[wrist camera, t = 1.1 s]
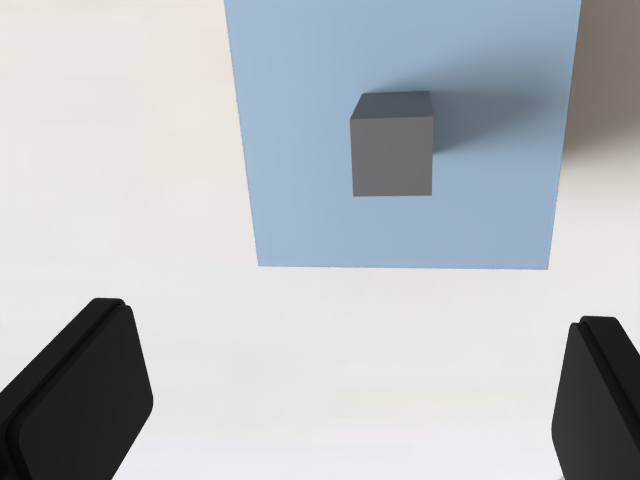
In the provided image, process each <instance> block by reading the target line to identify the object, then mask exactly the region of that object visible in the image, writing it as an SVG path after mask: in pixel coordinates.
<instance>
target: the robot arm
mask: <svg viewBox="0 0 640 480" xmlns="http://www.w3.org/2000/svg"><path fill="white" fill-rule="evenodd" d="M152 408H153V394H152V390H151V386H150V382H149V378H148V373H147V369H146V365H145V361H144V357H143V353H142V349H141V344H140V340H139V336H138V332H137V328H136V324H135V319H134V315H133V311H132V309H131V307H130V306H128V305H125V302H124V301H123V300H122V299H117V298H94V299H93V300H92V301H91V302H90V303H89V304H88V305H87V306H86V307H85V308H84V309H83V310H82V311H81V312H80V313H79V314H78V315H77V316H76V317H75V318H74V319H73V320H72V321H71V322H70V323H69V324H68V325H67V326H66V327H65V328H64V329H63V330H62V331H61V332H60V333H59V334H58V335H57V336H56V337H55V338H54V339H53V340H52V341H51V342H50V343H49V344H48V345H47V346H46V347H45V348H44V349H43V350H42V351H41V352H40V353H39V354H38V355H37V356H36V357H35V358H34V359H33V360H32V361H31V362H30V363H29V364H28V365H27V366H26V367H25V368H24V369H23V370H22V371H21V372H20V373H19V374H18V375H17V376H16V377H15V378H14V379H13V380H12V381H11V382H10V383H9V384H8V385H7V386H6V387H5V388H4V389H3V391H2V392H1V393H0V480H112V478H113V476H114V475H115V473H116V471H117V470H118V468H119V466H120V465H121V463H122V461H123V459H124V458H125V456H126V454H127V453H128V451H129V449H130V448H131V446H132V444H133V443H134V441H135V439H136V437H137V436H138V434H139V432H140V431H141V429H142V427H143V426H144V424H145V422H146V421H147V419H148V417H149V416H150V414H151V411H152ZM551 431H552V440H553V444H554V447H555V450H556V453H557V456H558V460H559V463H560V466H561V469H562V472H563V475H564V477H563V478H562V479H560V480H640V355H639V353H638V351H637V350H636V348H635V347H634V345H633V344H632V342H631V340H630V339H629V337H628V336H627V334H626V332H625V331H624V329H623V328H622V326H621V324H620V323H619V321H618V320H617V319H616V318H615V317H602V316H583V317H582V318H581V319H580V322H579V323H572V324H571V325H570V328H569V333H568V339H567V344H566V349H565V355H564V360H563V366H562V371H561V376H560V382H559V387H558V393H557V398H556V404H555V409H554V414H553V420H552V430H551Z"/></svg>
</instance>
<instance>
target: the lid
mask: <svg viewBox="0 0 640 480" xmlns="http://www.w3.org/2000/svg"><path fill="white" fill-rule="evenodd" d="M581 1H582V0H224V5H225V13H226V21H227V28H228V36H229V44H230V52H231V59H232V67H233V75H234V82H235V90H236V98H237V105H238V113H239V121H240V128H241V136H242V144H243V151H244V159H245V167H246V174H247V182H248V190H249V198H250V205H251V213H252V221H253V228H254V236H255V244H256V251H257V259H258V266H280V267H365V268H449V269H534V270H548V265H549V257H550V249H551V241H552V233H553V225H554V217H555V209H556V201H557V193H558V185H559V177H560V169H561V161H562V153H563V145H564V137H565V129H566V121H567V113H568V105H569V97H570V89H571V81H572V73H573V65H574V57H575V49H576V41H577V33H578V25H579V17H580V9H581Z"/></svg>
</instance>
